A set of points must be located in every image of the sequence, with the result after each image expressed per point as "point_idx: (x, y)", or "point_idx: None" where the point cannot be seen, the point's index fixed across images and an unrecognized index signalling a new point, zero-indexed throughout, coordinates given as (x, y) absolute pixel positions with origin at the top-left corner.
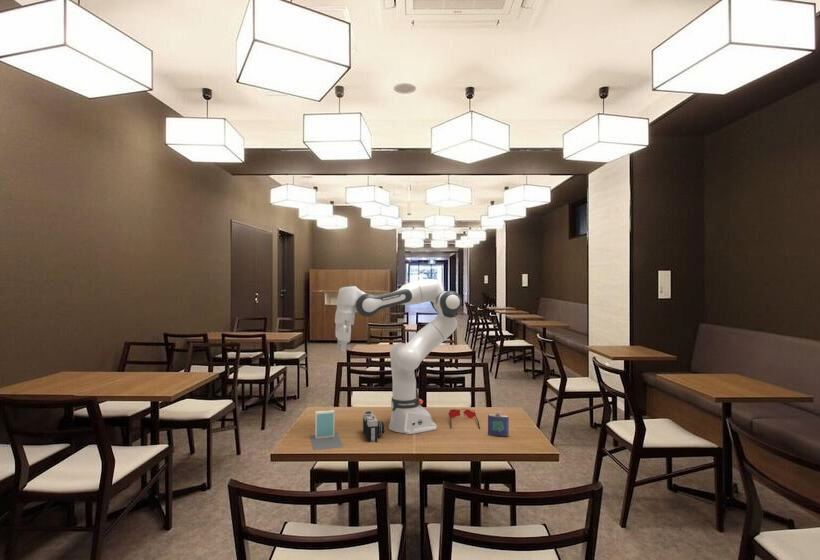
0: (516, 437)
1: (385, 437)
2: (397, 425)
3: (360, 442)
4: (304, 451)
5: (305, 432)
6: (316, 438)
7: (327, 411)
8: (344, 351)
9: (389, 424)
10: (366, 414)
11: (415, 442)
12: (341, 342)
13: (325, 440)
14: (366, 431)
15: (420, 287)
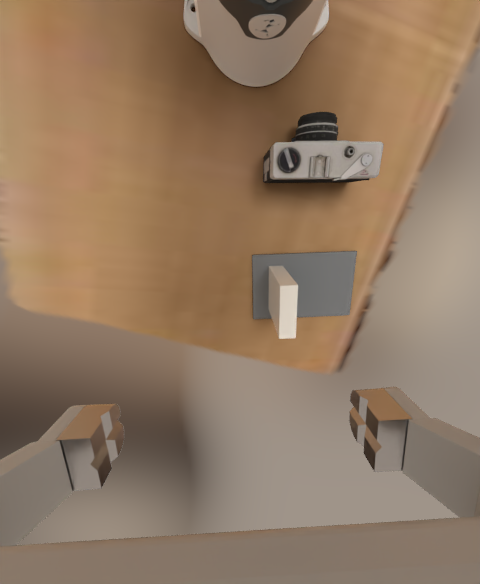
0: None
1: None
2: (295, 51)
3: (335, 203)
4: (343, 330)
5: (227, 327)
6: None
7: (289, 305)
8: (395, 393)
9: (245, 77)
10: (304, 170)
11: (397, 23)
12: (8, 484)
13: (301, 287)
14: (327, 181)
15: None
